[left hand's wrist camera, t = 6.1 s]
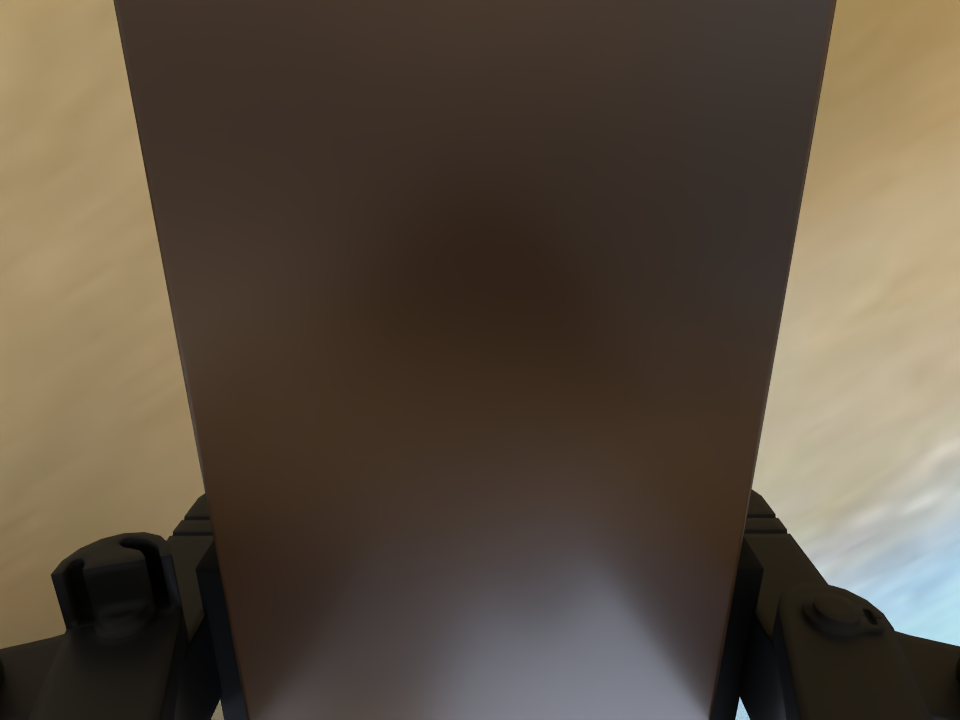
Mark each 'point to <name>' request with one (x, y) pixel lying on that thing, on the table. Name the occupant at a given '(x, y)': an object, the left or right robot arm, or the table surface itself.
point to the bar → (477, 333)
